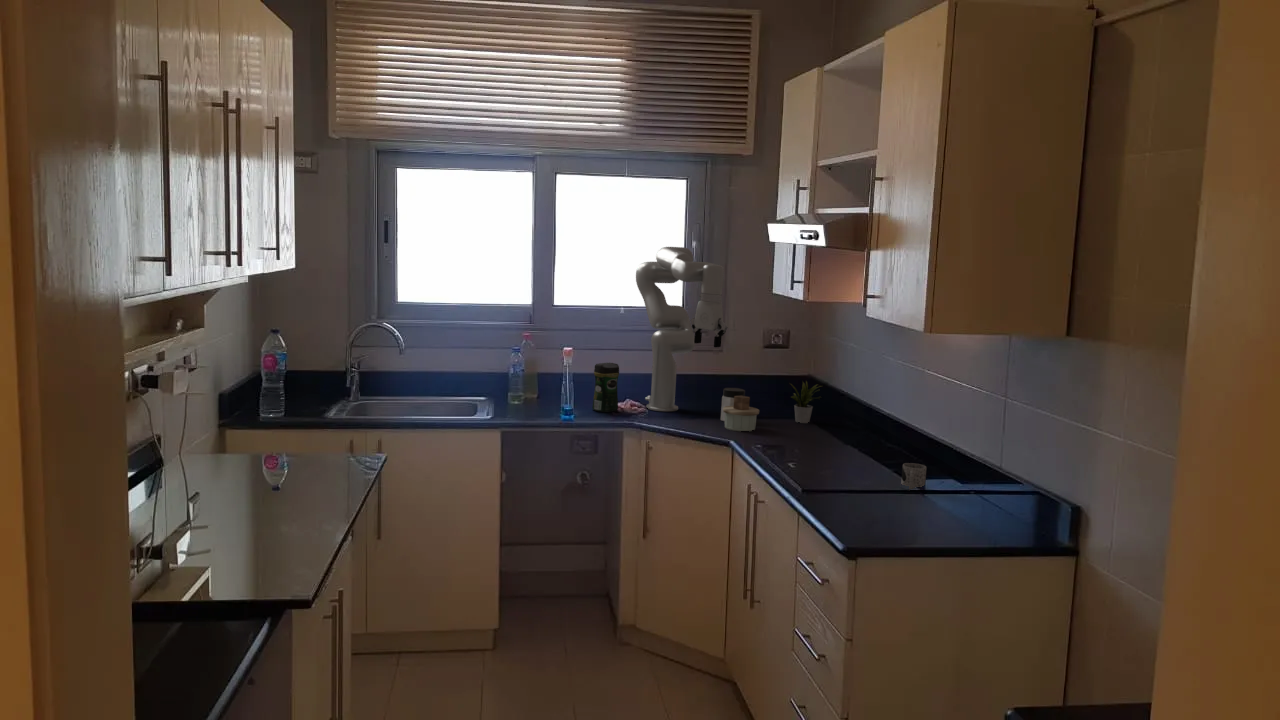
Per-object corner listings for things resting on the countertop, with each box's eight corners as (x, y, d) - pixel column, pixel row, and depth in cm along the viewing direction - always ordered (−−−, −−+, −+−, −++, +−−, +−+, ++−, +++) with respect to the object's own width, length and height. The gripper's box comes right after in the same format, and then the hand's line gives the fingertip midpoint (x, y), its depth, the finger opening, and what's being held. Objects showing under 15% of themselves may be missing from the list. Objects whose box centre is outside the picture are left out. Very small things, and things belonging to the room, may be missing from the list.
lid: (715, 410, 358) (716, 395, 357) (739, 407, 366) (740, 392, 366) (742, 416, 348) (743, 401, 347) (766, 413, 357) (767, 398, 356)
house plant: (830, 425, 372) (834, 383, 370) (798, 426, 368) (801, 383, 365) (811, 418, 386) (814, 377, 383) (780, 419, 381) (783, 377, 379)
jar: (748, 422, 371) (750, 390, 370) (732, 423, 366) (734, 392, 364) (731, 417, 378) (733, 387, 376) (716, 419, 373) (718, 388, 371)
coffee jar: (608, 407, 385) (610, 360, 382) (621, 411, 379) (623, 363, 376) (588, 409, 379) (590, 361, 376) (601, 413, 373) (603, 364, 370)
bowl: (718, 427, 358) (719, 410, 357) (738, 424, 366) (739, 408, 365) (741, 432, 350) (742, 416, 349) (761, 429, 358) (762, 413, 357)
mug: (902, 484, 289) (904, 462, 288) (925, 487, 286) (927, 465, 285) (898, 491, 279) (900, 468, 278) (922, 495, 277) (924, 472, 276)
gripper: (686, 296, 360) (683, 342, 362) (722, 301, 347) (718, 349, 350) (700, 295, 365) (697, 341, 367) (735, 301, 353) (731, 348, 355)
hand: (707, 345), depth 359 cm, fingers open, 9 cm apart
